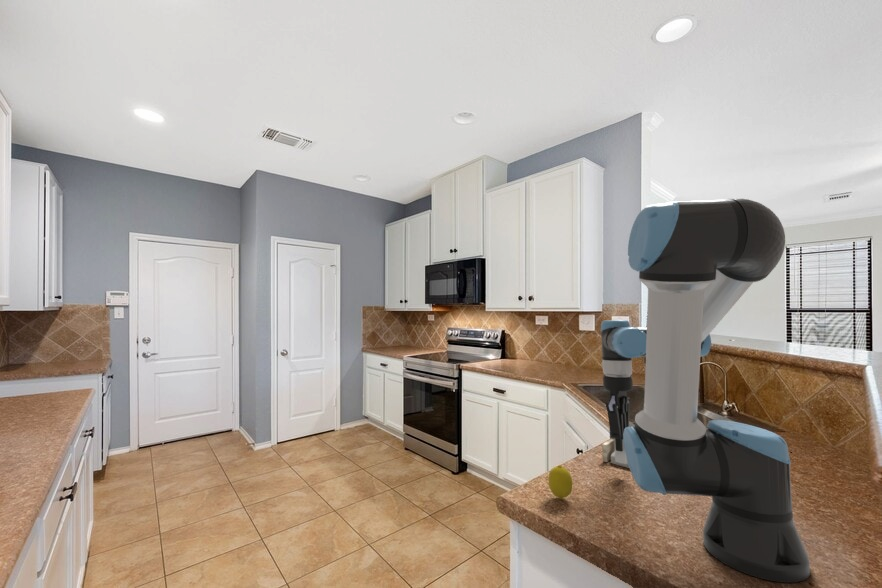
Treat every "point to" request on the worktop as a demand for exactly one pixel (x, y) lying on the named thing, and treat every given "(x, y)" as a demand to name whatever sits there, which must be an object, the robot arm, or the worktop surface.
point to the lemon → (560, 482)
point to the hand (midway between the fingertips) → (621, 462)
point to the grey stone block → (618, 462)
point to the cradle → (608, 449)
